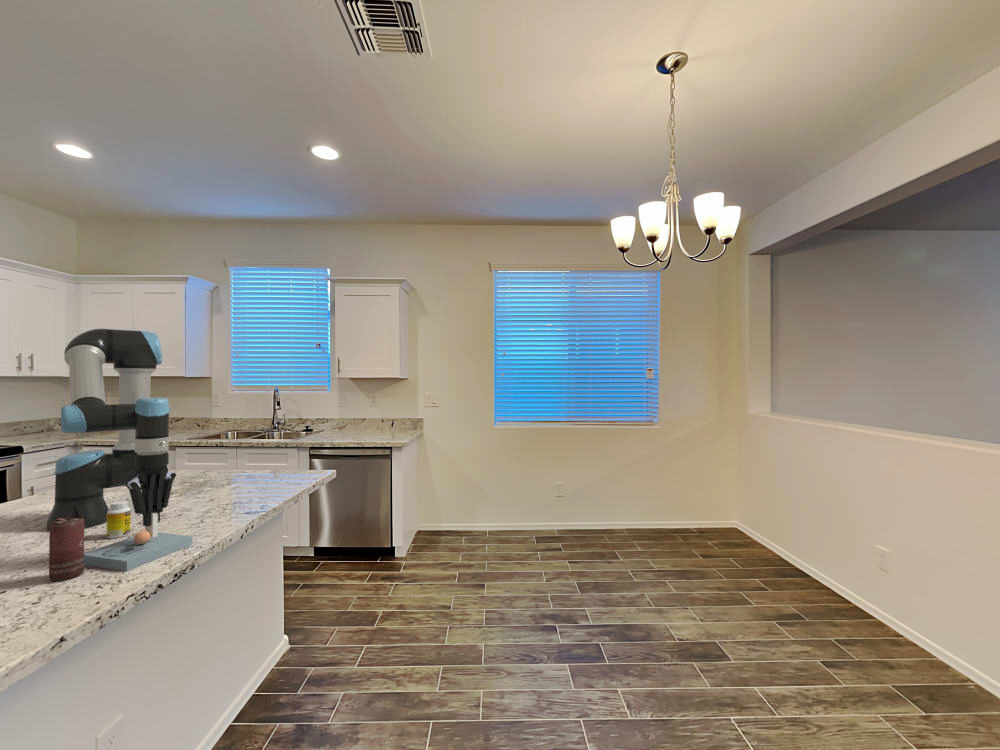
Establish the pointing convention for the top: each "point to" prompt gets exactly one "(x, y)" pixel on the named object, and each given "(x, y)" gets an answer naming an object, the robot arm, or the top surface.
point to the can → (66, 548)
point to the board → (135, 551)
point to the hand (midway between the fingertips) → (151, 536)
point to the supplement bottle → (118, 520)
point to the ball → (142, 537)
